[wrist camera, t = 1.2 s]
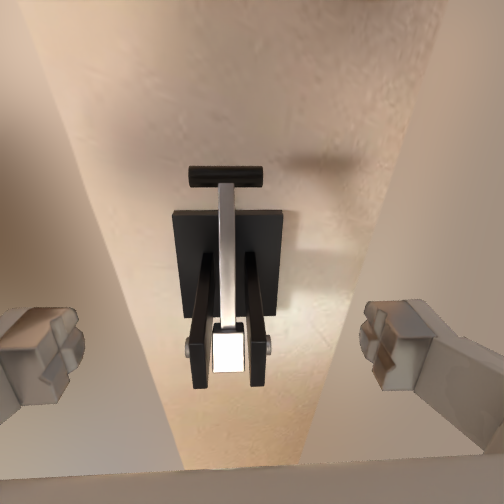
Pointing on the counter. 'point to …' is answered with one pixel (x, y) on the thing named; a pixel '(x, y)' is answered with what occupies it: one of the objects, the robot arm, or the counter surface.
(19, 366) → the robot arm
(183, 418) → the counter surface
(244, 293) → the bracket
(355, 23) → the counter surface
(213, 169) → the lever
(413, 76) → the counter surface
